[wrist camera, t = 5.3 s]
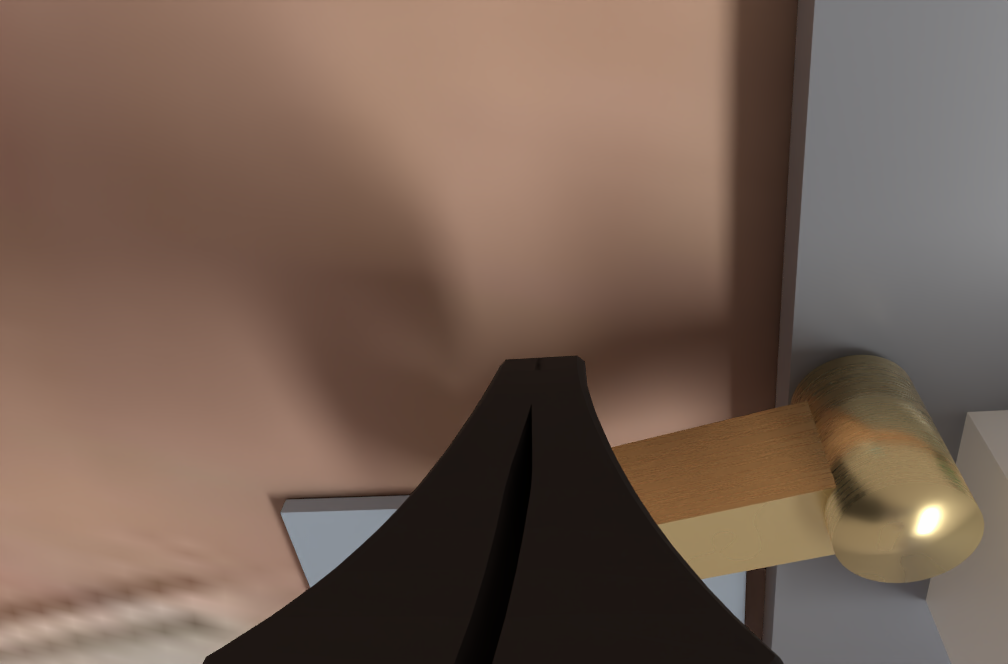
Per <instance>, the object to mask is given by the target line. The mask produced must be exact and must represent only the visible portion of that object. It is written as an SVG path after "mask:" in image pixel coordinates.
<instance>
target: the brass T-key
mask: <svg viewBox="0 0 1008 664" xmlns="http://www.w3.org/2000/svg"><path fill="white" fill-rule="evenodd" d="M611 448H612V450H613V452H614V454H615V456H616V458H617V460H618V462H619V464H620V466H621V467H622V469H623V471H624V473H625V475H626V476H627V478H628V480H629V482H630V483H631V485H632V487H633V488H634V490H635V492H636V493H637V495H638V497H639V498H640V500H641V501H642V503H643V504H644V506H645V507H646V509H647V510H648V512H649V513H650V515H651V516H652V518H653V519H654V521H655V522H656V524H657V525H658V526H659V528H660V529H661V530H662V532H663V533H664V534H665V536H666V537H667V539H668V540H669V541H670V543H671V544H672V545H673V547H674V548H675V549H676V550H677V551H678V553H679V554H680V555H681V556H682V557H683V558H684V560H685V561H686V562H687V563H688V564H689V566H690V567H691V568H692V569H693V570H694V571H695V573H696V574H697V575H698V576H699V577H700V579H706V578H711V577H717V576H722V575H727V574H733V573H738V572H743V571H749V570H754V569H759V568H765V567H770V566H775V565H781V564H786V563H791V562H797V561H802V560H807V559H813V558H818V557H823V556H829V555H834V554H835V555H836V557H837V558H838V560H839V561H840V562H841V564H842V565H843V566H844V567H846V568H847V569H848V570H849V571H851V572H853V573H854V574H856V575H858V576H861V577H863V578H866V579H869V580H873V581H878V582H886V583H907V582H915V581H920V580H925V579H928V578H932V577H935V576H938V575H940V574H943V573H945V572H947V571H949V570H951V569H953V568H954V567H956V566H958V565H959V564H961V563H962V562H963V561H964V560H966V559H967V558H968V557H969V556H970V555H971V554H972V553H973V552H974V550H975V549H976V548H977V547H978V545H979V543H980V541H981V539H982V536H983V532H984V519H983V515H982V513H981V511H980V509H979V507H978V505H977V503H976V502H975V500H974V498H973V496H972V494H971V492H970V490H969V488H968V486H967V485H966V483H965V481H964V479H963V477H962V475H961V473H960V471H959V470H958V468H957V466H956V464H955V462H954V460H953V458H952V456H951V454H950V453H949V451H948V449H947V447H946V445H945V443H944V441H943V439H942V438H941V436H940V434H939V432H938V430H937V428H936V426H935V424H934V422H933V421H932V419H931V417H930V415H929V413H928V411H927V409H926V407H925V406H924V404H923V402H922V400H921V398H920V396H919V394H918V392H917V390H916V389H915V387H914V385H913V383H912V381H911V379H910V377H909V376H908V374H907V373H906V372H905V371H904V370H903V369H902V368H901V367H900V366H899V365H897V364H896V363H894V362H892V361H890V360H888V359H885V358H882V357H878V356H872V355H851V356H845V357H840V358H837V359H834V360H831V361H829V362H826V363H824V364H822V365H820V366H819V367H817V368H816V369H814V370H813V371H811V372H810V373H809V374H808V375H807V376H805V377H804V379H803V380H802V381H801V382H800V383H799V385H798V386H797V388H796V390H795V392H794V394H793V397H792V400H791V404H790V405H786V406H782V407H778V408H773V409H769V410H765V411H761V412H757V413H753V414H749V415H744V416H740V417H736V418H732V419H728V420H724V421H719V422H715V423H711V424H707V425H703V426H699V427H695V428H690V429H686V430H682V431H678V432H674V433H670V434H665V435H661V436H657V437H653V438H649V439H645V440H641V441H636V442H632V443H628V444H624V445H620V446H616V447H611Z"/></svg>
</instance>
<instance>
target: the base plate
mask: <svg viewBox="0 0 1008 664" xmlns="http://www.w3.org/2000/svg"><path fill="white" fill-rule="evenodd" d="M851 355H872V356H878V357H882V358H885V359H888V360H890V361H892V362H894V363H896V364H897V365H899V366H900V367H901V368H902V369H903V370H904V371H905V372H906V373H907V374H908V376H909V377H910V379H911V381H912V383H913V385H914V387H915V389H916V390H917V392H918V394H919V396H920V398H921V400H922V402H923V404H924V406H925V407H926V409H927V411H928V413H929V415H930V417H931V419H932V421H933V422H934V424H935V426H936V428H937V430H938V432H939V434H940V436H941V438H942V439H943V441H944V443H945V445H946V447H947V449H948V451H949V453H950V454H951V456H952V458H953V460H954V462H955V464H956V461H957V456H958V452H959V447H960V443H961V438H962V433H963V429H964V424H965V420H966V415H967V412H977V411H999V410H1008V0H798V12H797V30H796V47H795V65H794V83H793V101H792V119H791V136H790V154H789V172H788V190H787V208H786V226H785V243H784V261H783V279H782V297H781V315H780V332H779V350H778V368H777V386H776V404H775V408H778V407H782V406H786V405H790V404H791V400H792V397H793V394H794V392H795V390H796V388H797V386H798V385H799V383H800V382H801V381H802V380H803V379H804V377H805V376H807V375H808V374H809V373H810V372H811V371H813V370H814V369H816V368H817V367H819V366H820V365H822V364H824V363H826V362H829V361H831V360H834V359H837V358H840V357H845V356H851ZM930 579H931V578H928V579H925V580H920V581H915V582H907V583H886V582H878V581H873V580H869V579H866V578H863V577H861V576H858V575H856V574H854V573H853V572H851V571H849V570H848V569H847V568H846V567H844V566H843V565H842V564H841V562H840V561H839V560H838V558H837V557H836V555H835V554H834V555H829V556H823V557H818V558H813V559H807V560H802V561H797V562H791V563H786V564H781V565H775V566H770V567H766V582H765V600H764V617H763V635H762V642H763V643H765V644H766V645H767V646H768V647H769V648H770V649H771V650H772V651H773V652H775V653H776V654H777V655H778V656H779V657H780V658H781V660H782V661H783V663H784V664H951V661H950V659H949V656H948V654H947V652H946V649H945V647H944V644H943V642H942V639H941V637H940V634H939V632H938V629H937V627H936V624H935V622H934V620H933V617H932V615H931V612H930V610H929V607H928V605H927V602H926V597H927V592H928V588H929V583H930Z"/></svg>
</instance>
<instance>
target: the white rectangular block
mask: <svg viewBox="0 0 1008 664" xmlns="http://www.w3.org/2000/svg"><path fill="white" fill-rule="evenodd" d="M956 466H957V468H958V470H959V471H960V473H961V475H962V477H963V479H964V481H965V483H966V485H967V486H968V488H969V490H970V492H971V494H972V496H973V498H974V500H975V502H976V503H977V505H978V507H979V509H980V511H981V513H982V515H983V519H984V532H983V536H982V539H981V541H980V543H979V545H978V547H977V548H976V549H975V550H974V552H973V553H972V554H971V555H970V556H969V557H968V558H967V559H966V560H964V561H963V562H962V563H961V564H959V565H958V566H956V567H954V568H953V569H951V570H949V571H947V572H945V573H943V574H940V575H938V576H935V577H932V578H931V579H930V583H929V588H928V592H927V597H926V602H927V605H928V607H929V610H930V612H931V615H932V617H933V620H934V622H935V624H936V627H937V629H938V632H939V634H940V637H941V639H942V642H943V644H944V647H945V649H946V652H947V654H948V656H949V659H950V661H951V664H1008V410H999V411H977V412H967V415H966V420H965V424H964V429H963V433H962V438H961V443H960V447H959V452H958V456H957V461H956Z"/></svg>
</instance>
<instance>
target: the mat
mask: <svg viewBox="0 0 1008 664" xmlns="http://www.w3.org/2000/svg"><path fill="white" fill-rule="evenodd" d="M409 496H410V495H405V496H377V497H348V498H319V499H290V500H286V501H285V503H284V505H283V508H282V510H281V512H280V513H281V516H282V518H283V521H284V523H285V526H286V528H287V531H288V533H289V536H290V538H291V541H292V543H293V546H294V548H295V551H296V553H297V556H298V558H299V561H300V563H301V566H302V568H303V571H304V573H305V576H306V578H307V581H308V583H309V586H310V588H311V587H312V586H313V585H315V584H316V583H317V582H318V581H320V580H321V579H322V578H323V577H325V576H326V575H327V574H329V573H330V572H331V571H332V570H334V569H335V568H336V567H337V566H338V565H340V564H341V563H342V562H343V561H344V560H345V559H346V558H347V557H348V556H350V555H351V554H352V553H353V552H354V551H355V550H356V549H357V548H359V547H360V546H361V545H362V544H363V543H364V542H365V541H366V540H367V539H368V538H369V537H370V536H371V535H372V534H373V533H375V532H376V531H377V530H378V529H379V528H380V527H381V526H382V525H383V524H384V523H385V522H386V521H387V520H388V519H389V518H390V516H391V515H392V514H393V513H394V512H395V511H396V510H397V509H398V508H399V507H400V506H401V505H402V504H403V503H404V502H405V500H406V499H407V498H408V497H409ZM701 580H702V581H703V582H704V583H705V584H706V586H707V587H708V588H709V589H710V590H711V591H712V592H713V593H714V594H715V595H716V596H717V597H718V598H719V599H720V601H721V602H722V603H723V604H724V605H725V606H726V607H727V608H728V609H729V610H730V611H731V612H732V613H733V614H734V615H735V616H736V617H737V618H738V619H739V620H740V621H741V622H742V623H743V624H744V620H745V592H746V571H743V572H738V573H733V574H727V575H722V576H717V577H711V578H706V579H701Z"/></svg>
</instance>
